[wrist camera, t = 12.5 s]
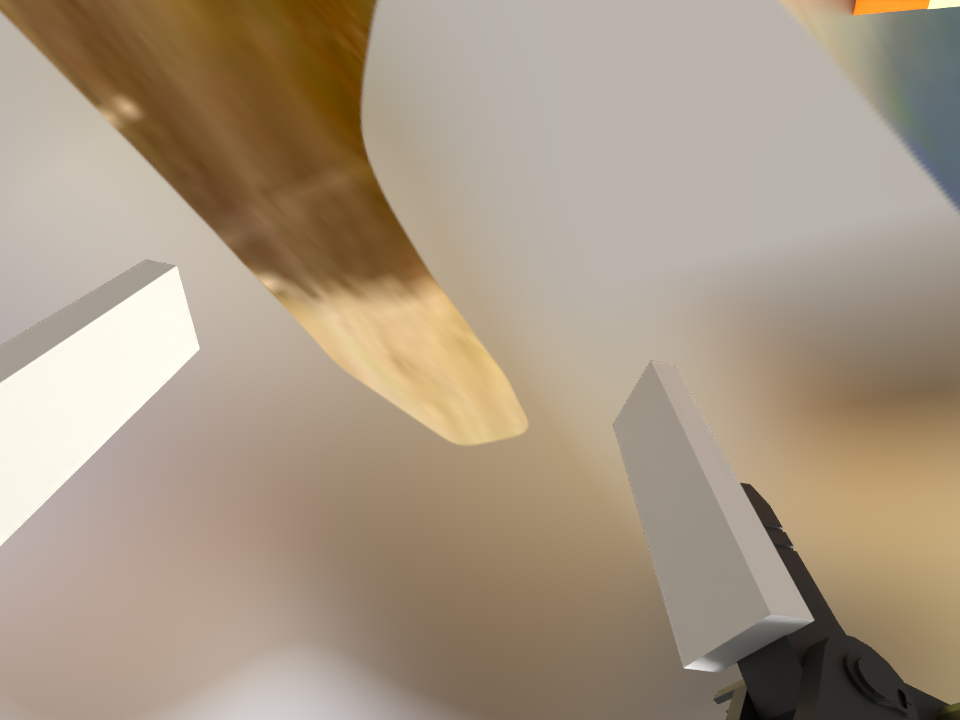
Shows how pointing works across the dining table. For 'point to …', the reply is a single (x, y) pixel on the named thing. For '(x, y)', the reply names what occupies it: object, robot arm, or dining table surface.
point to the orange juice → (899, 5)
